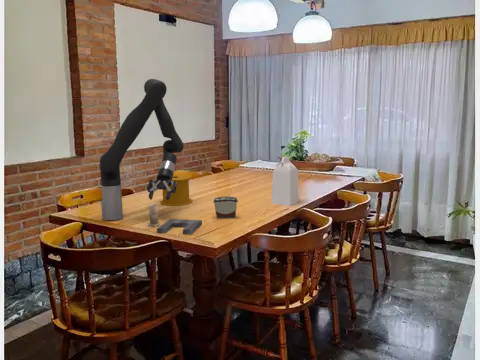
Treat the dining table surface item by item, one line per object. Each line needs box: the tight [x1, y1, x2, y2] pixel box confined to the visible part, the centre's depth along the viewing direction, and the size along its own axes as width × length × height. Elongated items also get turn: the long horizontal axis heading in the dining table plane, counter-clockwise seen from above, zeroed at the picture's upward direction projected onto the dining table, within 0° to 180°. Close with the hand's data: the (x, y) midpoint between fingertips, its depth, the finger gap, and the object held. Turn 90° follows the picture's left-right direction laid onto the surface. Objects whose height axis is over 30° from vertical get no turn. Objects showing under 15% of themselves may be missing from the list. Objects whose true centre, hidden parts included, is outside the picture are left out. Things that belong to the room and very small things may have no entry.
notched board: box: [156, 218, 203, 235], centre depth 203 cm, size 16×16×2 cm
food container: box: [212, 195, 239, 220], centre depth 221 cm, size 12×6×10 cm, turn 92°
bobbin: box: [147, 203, 161, 228], centre depth 208 cm, size 5×5×10 cm
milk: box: [270, 155, 300, 207], centre depth 248 cm, size 12×12×26 cm
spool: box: [159, 174, 193, 207], centre depth 254 cm, size 18×18×15 cm
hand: (158, 199), depth 214 cm, fingers open, 8 cm apart
